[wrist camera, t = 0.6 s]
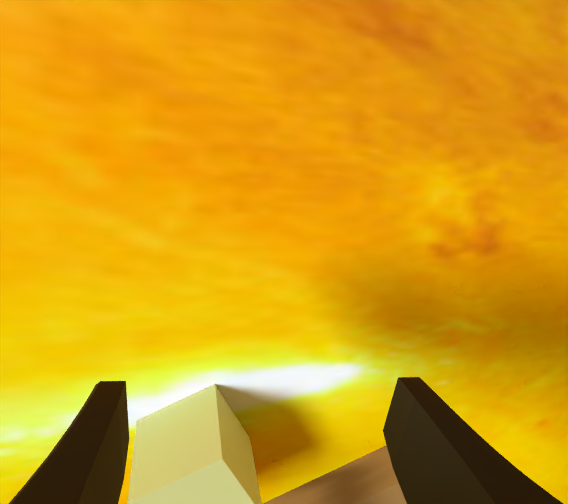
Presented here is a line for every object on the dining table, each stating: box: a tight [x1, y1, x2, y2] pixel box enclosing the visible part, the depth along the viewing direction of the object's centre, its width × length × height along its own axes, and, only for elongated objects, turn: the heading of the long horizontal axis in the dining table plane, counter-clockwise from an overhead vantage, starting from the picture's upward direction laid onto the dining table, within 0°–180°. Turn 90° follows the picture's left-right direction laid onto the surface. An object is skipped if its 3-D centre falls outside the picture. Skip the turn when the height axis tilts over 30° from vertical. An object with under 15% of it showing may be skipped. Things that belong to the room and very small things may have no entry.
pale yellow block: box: [128, 384, 262, 504], centre depth 24 cm, size 4×4×5 cm
